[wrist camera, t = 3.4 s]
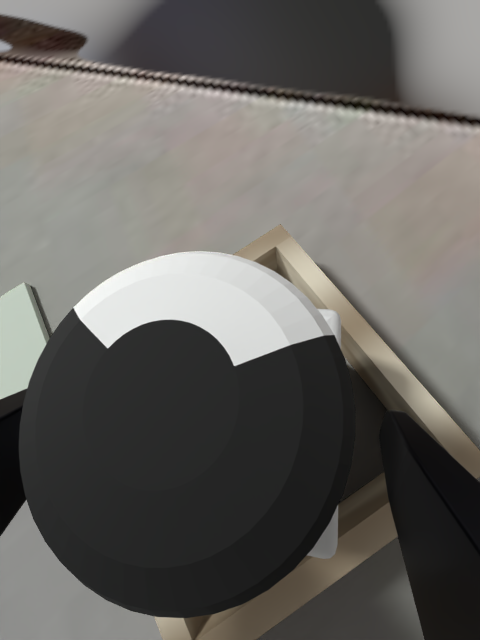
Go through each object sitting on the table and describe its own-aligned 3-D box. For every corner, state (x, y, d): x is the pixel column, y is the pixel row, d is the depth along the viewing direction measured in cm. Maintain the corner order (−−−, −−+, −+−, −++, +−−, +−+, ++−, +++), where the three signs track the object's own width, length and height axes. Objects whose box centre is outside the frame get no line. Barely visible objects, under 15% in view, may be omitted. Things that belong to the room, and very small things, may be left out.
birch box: (449, 455, 13) (493, 466, 11) (205, 630, 13) (182, 693, 10) (281, 253, 18) (280, 224, 15) (96, 372, 18) (60, 365, 15)
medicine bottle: (313, 492, 14) (439, 846, 3) (177, 468, 15) (-137, 633, 4) (318, 351, 16) (401, 203, 5) (199, 340, 17) (37, 204, 6)
